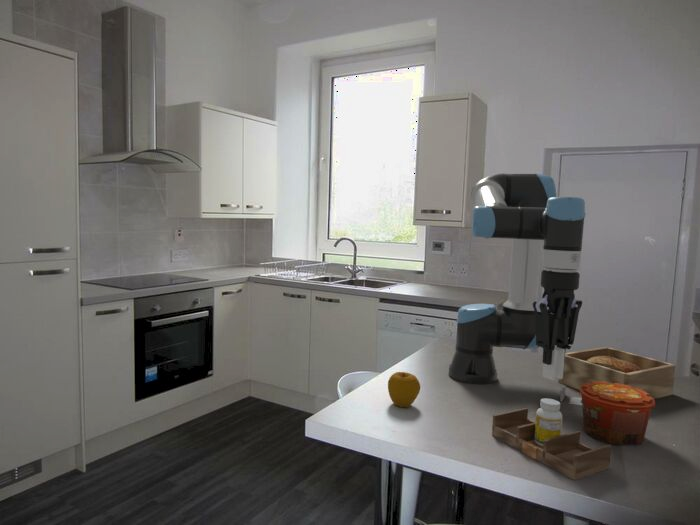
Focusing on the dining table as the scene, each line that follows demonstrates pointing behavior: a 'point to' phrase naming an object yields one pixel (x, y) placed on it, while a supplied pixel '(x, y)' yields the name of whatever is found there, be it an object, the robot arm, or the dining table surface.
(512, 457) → the dining table surface
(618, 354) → the bread crate
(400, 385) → the apple
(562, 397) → the bracket
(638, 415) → the food container
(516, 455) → the dining table surface
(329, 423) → the dining table surface
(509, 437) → the rack
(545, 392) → the dining table surface
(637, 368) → the bread
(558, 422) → the supplement bottle
